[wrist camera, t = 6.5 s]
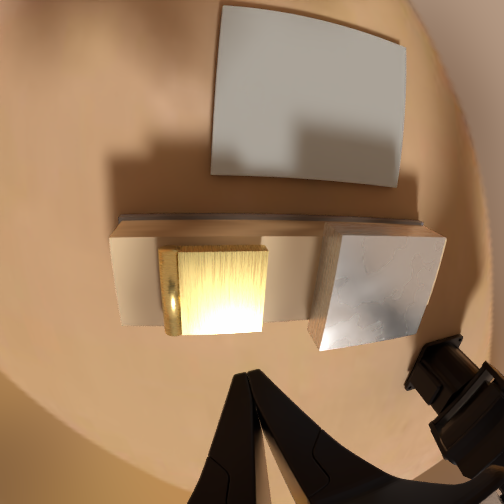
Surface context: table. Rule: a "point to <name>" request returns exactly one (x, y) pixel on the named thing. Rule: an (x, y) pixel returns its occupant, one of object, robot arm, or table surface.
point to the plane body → (224, 233)
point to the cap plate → (372, 282)
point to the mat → (306, 100)
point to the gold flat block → (212, 288)
